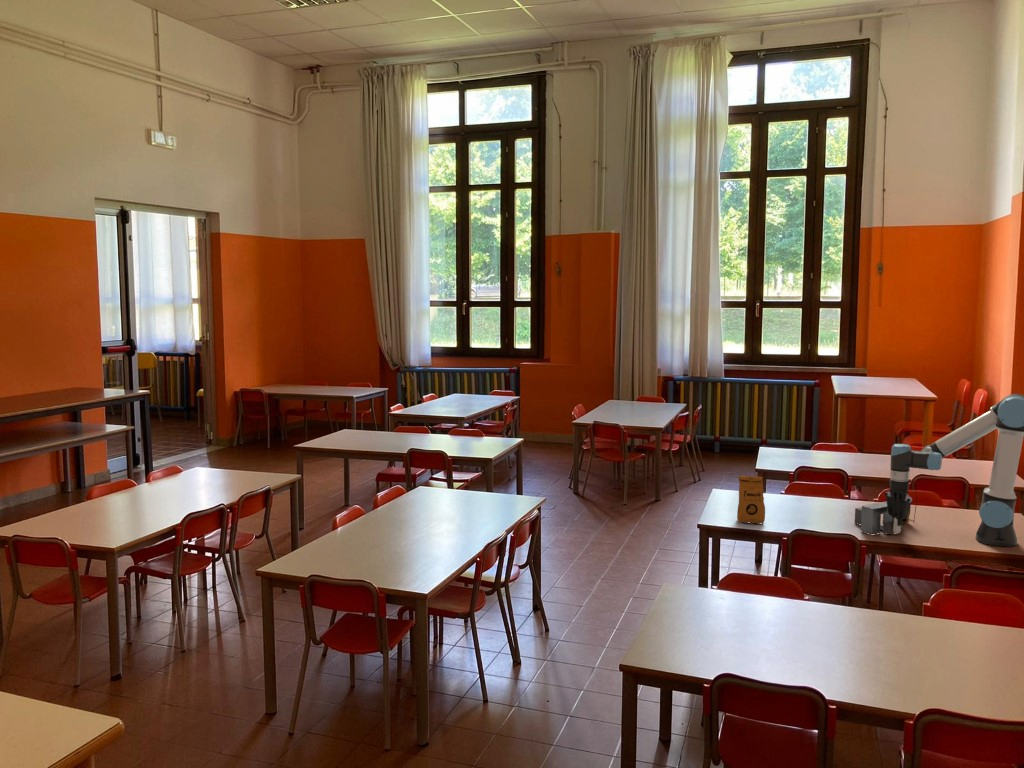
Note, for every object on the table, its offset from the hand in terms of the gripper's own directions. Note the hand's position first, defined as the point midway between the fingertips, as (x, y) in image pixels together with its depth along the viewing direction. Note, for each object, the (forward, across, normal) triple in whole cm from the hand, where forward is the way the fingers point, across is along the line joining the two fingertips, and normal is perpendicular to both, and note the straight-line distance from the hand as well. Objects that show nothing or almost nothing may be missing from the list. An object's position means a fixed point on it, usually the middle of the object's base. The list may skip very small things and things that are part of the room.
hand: (896, 532), depth 350 cm
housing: (+2, -8, 0) cm, 8 cm away
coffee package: (+2, -45, -42) cm, 62 cm away
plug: (+2, -12, +2) cm, 12 cm away
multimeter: (+2, -16, +20) cm, 26 cm away
